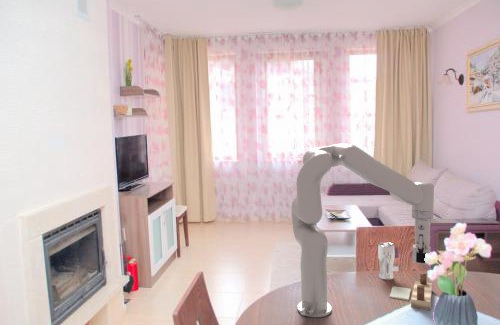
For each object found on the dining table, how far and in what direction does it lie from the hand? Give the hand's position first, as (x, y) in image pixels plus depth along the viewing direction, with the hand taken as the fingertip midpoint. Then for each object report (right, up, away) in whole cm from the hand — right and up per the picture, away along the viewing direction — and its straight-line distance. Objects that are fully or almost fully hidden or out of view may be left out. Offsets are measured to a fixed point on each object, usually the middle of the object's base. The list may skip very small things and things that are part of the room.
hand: (421, 260), depth 150 cm
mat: (-6, -15, +6) cm, 17 cm away
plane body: (+1, -15, +2) cm, 16 cm away
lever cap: (0, -1, 0) cm, 1 cm away
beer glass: (-5, -14, +23) cm, 27 cm away
